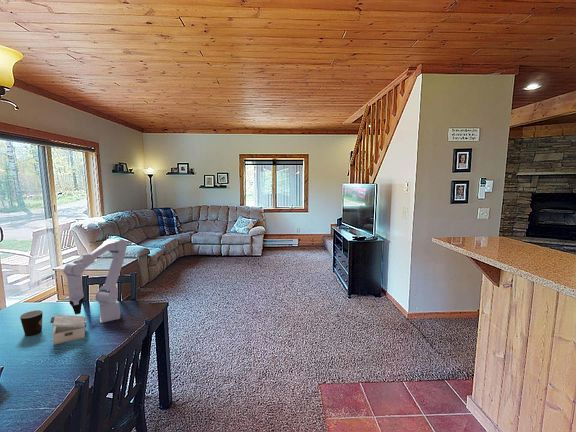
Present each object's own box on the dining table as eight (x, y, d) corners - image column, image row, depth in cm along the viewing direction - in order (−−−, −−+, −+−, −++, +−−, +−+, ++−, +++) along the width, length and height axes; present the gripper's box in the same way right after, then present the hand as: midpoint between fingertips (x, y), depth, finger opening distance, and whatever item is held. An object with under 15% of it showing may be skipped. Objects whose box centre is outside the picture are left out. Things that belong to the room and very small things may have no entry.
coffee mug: (31, 338, 145) (29, 319, 144) (17, 336, 147) (15, 317, 146) (54, 326, 157) (52, 308, 155) (41, 325, 158) (39, 307, 157)
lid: (83, 317, 156) (84, 316, 156) (83, 327, 146) (84, 326, 146) (51, 315, 148) (52, 314, 148) (49, 326, 138) (50, 324, 138)
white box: (87, 325, 158) (86, 315, 157) (87, 338, 146) (86, 327, 145) (55, 332, 151) (54, 322, 150) (53, 346, 139) (52, 335, 138)
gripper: (65, 284, 151) (68, 310, 153) (64, 293, 139) (67, 321, 141) (82, 281, 155) (85, 306, 157) (83, 290, 143) (85, 317, 145)
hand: (77, 313), depth 149 cm, fingers closed
